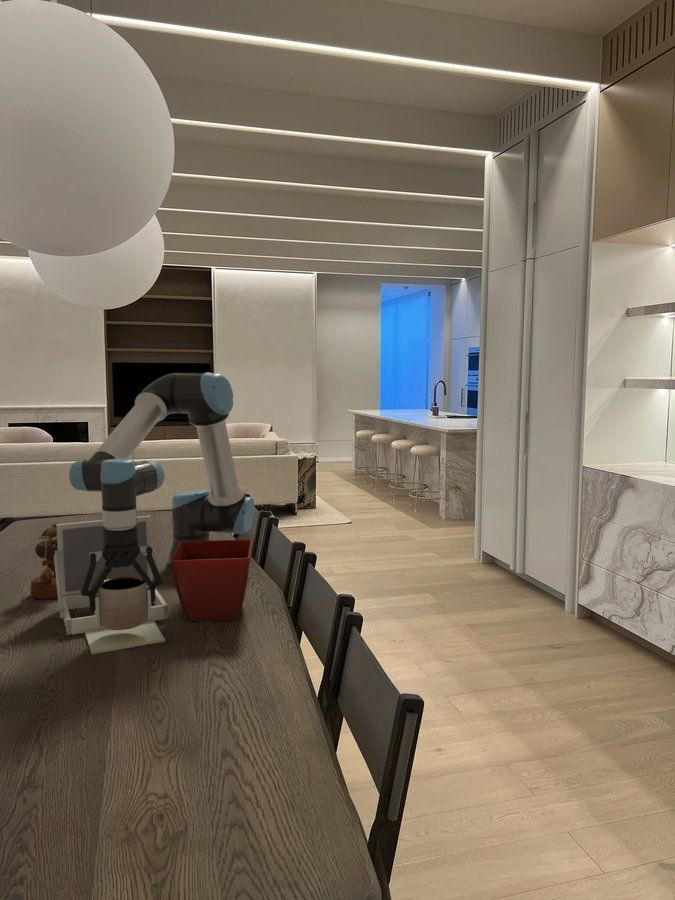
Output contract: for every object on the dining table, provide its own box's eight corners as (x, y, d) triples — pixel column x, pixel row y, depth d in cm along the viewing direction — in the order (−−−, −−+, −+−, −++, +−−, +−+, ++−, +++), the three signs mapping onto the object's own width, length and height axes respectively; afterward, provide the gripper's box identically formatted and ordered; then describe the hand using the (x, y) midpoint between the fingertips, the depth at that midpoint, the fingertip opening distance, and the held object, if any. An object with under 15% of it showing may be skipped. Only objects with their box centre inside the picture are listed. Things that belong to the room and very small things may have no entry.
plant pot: (182, 601, 184) (180, 540, 182) (253, 598, 185) (252, 538, 183) (171, 627, 165) (169, 560, 163) (250, 625, 166) (249, 558, 164)
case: (152, 595, 188) (149, 515, 185) (168, 618, 170) (165, 531, 168) (56, 608, 177) (51, 524, 175) (62, 635, 159) (57, 542, 157)
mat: (153, 622, 168) (153, 620, 168) (164, 641, 156) (164, 639, 156) (84, 633, 161) (84, 631, 161) (91, 654, 149) (91, 651, 149)
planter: (105, 615, 163) (103, 576, 162) (151, 613, 164) (150, 575, 163) (93, 632, 152) (91, 590, 151) (142, 630, 153) (141, 589, 152)
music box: (69, 600, 184) (65, 528, 181) (25, 603, 181) (21, 530, 179) (77, 583, 198) (74, 516, 196) (37, 586, 196) (33, 518, 194)
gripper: (167, 518, 164) (170, 606, 166) (64, 528, 153) (68, 622, 156) (174, 524, 157) (177, 616, 160) (67, 535, 147) (71, 633, 149)
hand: (123, 619), depth 158 cm, fingers closed on planter, 11 cm apart
